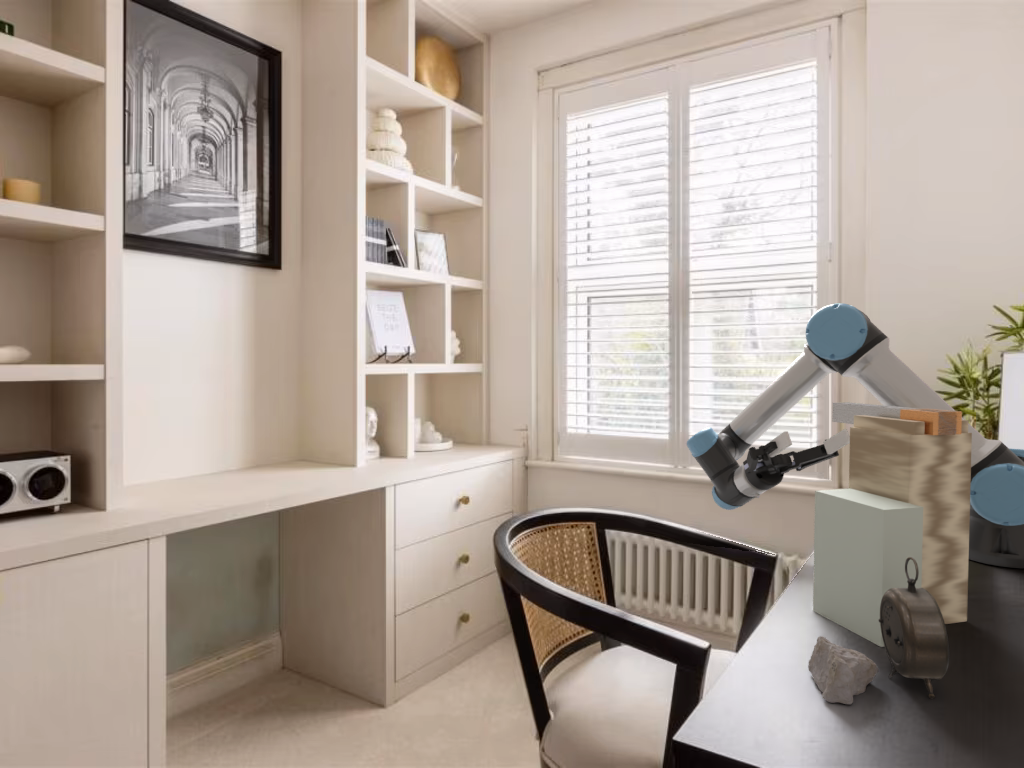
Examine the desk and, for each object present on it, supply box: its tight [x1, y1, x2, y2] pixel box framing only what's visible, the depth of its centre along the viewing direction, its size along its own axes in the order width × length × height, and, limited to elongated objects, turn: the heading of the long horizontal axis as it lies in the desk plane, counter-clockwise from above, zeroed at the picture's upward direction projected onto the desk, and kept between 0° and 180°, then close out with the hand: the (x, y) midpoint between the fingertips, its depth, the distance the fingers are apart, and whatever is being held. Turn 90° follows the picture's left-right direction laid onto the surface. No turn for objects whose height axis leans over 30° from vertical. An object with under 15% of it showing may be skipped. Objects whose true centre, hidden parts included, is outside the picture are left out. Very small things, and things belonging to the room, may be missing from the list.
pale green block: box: [812, 488, 923, 648], centre depth 101 cm, size 7×14×20 cm, turn 15°
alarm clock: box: [879, 557, 950, 700], centre depth 84 cm, size 11×5×16 cm, turn 168°
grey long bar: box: [831, 401, 963, 435], centre depth 110 cm, size 6×22×4 cm, turn 15°
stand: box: [848, 415, 972, 625], centre depth 107 cm, size 12×12×32 cm
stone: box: [807, 635, 879, 705], centre depth 82 cm, size 10×8×6 cm
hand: (818, 436), depth 126 cm, fingers open, 13 cm apart
